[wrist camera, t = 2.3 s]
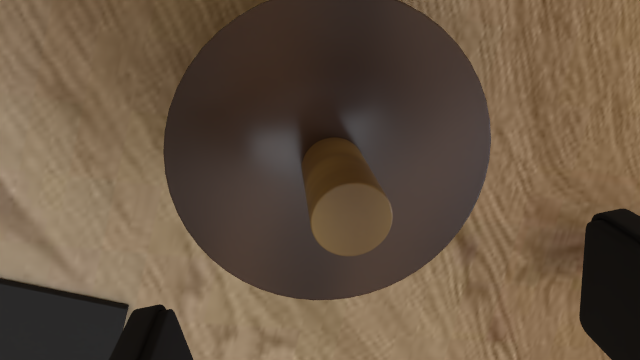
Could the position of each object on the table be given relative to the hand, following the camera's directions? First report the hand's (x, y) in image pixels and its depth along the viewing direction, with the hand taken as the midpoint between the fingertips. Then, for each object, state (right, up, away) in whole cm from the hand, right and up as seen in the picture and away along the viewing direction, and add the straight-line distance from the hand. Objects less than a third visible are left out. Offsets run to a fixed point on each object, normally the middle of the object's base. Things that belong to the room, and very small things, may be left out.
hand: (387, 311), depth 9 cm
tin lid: (-1, +4, +9) cm, 9 cm away
